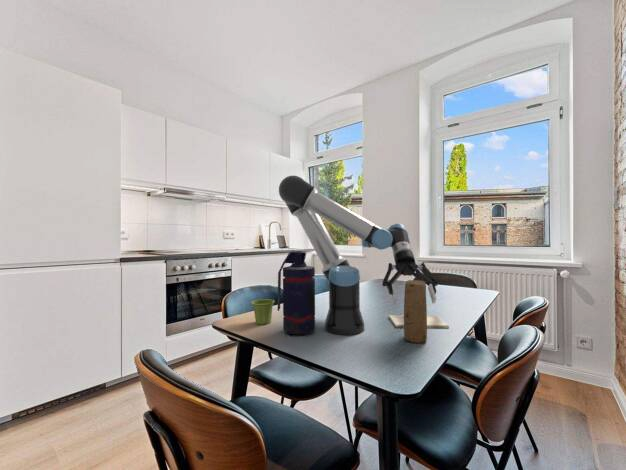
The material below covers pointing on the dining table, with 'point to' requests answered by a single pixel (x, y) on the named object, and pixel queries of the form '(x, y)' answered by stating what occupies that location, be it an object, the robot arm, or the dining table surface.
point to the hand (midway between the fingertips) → (414, 301)
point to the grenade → (297, 295)
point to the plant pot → (263, 310)
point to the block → (415, 311)
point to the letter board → (431, 321)
